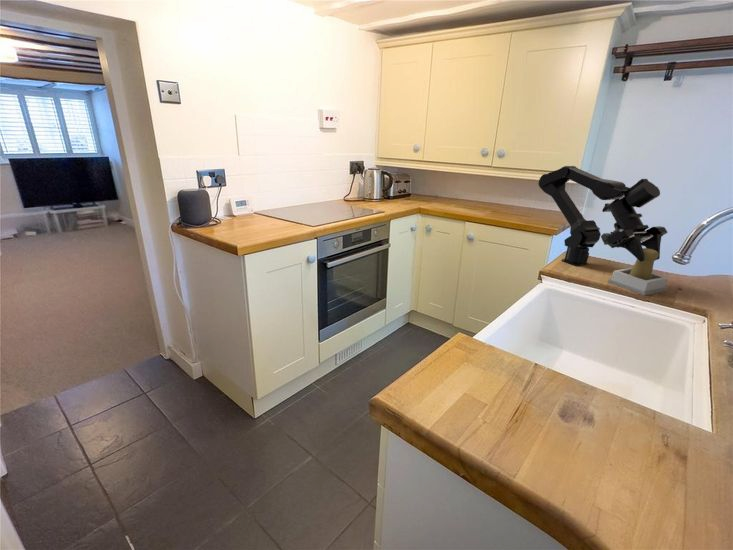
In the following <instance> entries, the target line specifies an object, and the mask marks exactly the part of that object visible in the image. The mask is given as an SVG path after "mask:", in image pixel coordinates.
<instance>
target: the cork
mask: <svg viewBox="0 0 733 550" xmlns="http://www.w3.org/2000/svg"><path fill="white" fill-rule="evenodd" d="M642 249H643V253H644V259H645V260H644V261H642V262H640V261H639V260H638V259H637V258H636V260H635V262H634V264H633V266H632V267H631V268H632V270H631V272H630V274H629V275H631V276H634V277H637V278H640V279H643V280H651V275H652V273H653V270H654V269H653V268H654V263H655V261H658V260H657V258H658V256H659V254H658V252H657V251H656V250H653V249H648V248H646V247H642Z"/></svg>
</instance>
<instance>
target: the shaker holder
mask: <svg viewBox="0 0 733 550" xmlns="http://www.w3.org/2000/svg"><path fill="white" fill-rule="evenodd" d="M632 268H633V267H628V268H622V269H616V270H613V273H612V276H611V278H608V280H607V282H608V283H609V282H610V283H609V284H612V285H614V284H615V285H614V286H617V287H620V288H622V287H623V288H622V289H625V288H626V289H625V290H629V291H630V290H631V291H630V292H634V293H637V294H639V295H641V296H649V295H653V294H657V293H658V294H659V293H662V292H667V291H668V289H669V287H667V283H668V280H669V277H666V276H663V275H661V274H658V273H654V272H652V275H651V280H643V279H640V278H637V277H634V276H631V275H629V274H630V272H631V270H632Z"/></svg>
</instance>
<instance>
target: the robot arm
mask: <svg viewBox="0 0 733 550" xmlns="http://www.w3.org/2000/svg"><path fill="white" fill-rule="evenodd" d="M569 181H572V182H574V183H577V184H578V185H580V186H582V187H585V188H587V189H589V190H591V192H592V195H594V196H596V197H597V198H598V199H600V200H602V201H611V202H610V203H608V202H607V203H604V206H603V208H602V210H601V211H602V212H603V213H607V212H610V213H611V216H612V217H613V219H614V221H615V222H614V223H613V227H614V230H613V231H610V233H609V232H604V233H603V234H601V231H600V230H601V228H600V227H598V225H597V223H596V221H595V220H594V219H593V220H587V219H585V218H584V216H583V215H582V213H581V212H580V210H579V209H578V207H577V206H576V204H575V202H574V201H573V200H572V198H571V197H570V195H569V194H568V191H566V184H567V183H568V182H569ZM538 187H539V188H540V190H541V191H542V192H543V193H545V194H546V195H548V196H550V197H551V198H552V200H553V201H554V202H555V204H556V206H557V207H558V208H559V209H558V210H560V212H561V214H562V215H563V217H564V218H565V220H566V222H568V224H569V227H570V229H569V233H570V236H568V237H567V238H565V239H564V240H563V241H564V246H565V247H567V249H566V252H565V256H564V258H562V259H561V261H562V262H564V263H566V264H567V263H568V264H570V265H571V266H572V265H573V266H576V267H577V266H579V267H580V266H586V265H589V261H588V259H589V257H590V252H589V251H590V248H594V246H595V245H596V244H597V243H598V242H599V241H600V238H601V240H602V242H603V244H604V246H605V245H608V246H609V247H610V248H611V249H614V248H623V249H625V250H627V252H629V253H630V254H632V255H633V256H634V258H636V260H637V259H638V260H639V261H640V262H642V261H644V260H645V259H644V253H643V249H642V248H643V247H644V248H648V249H653V250H656V251H657V252H658V254H659V256H658V258H657V260H656V261H658V260H660V258H661V257H660V256H661V241H662V237H663V236H664V235H666V234H668V230H667V229H666V227H665V226H661V225H660V226H652V227H649V225H648V224H644V223H643V221H642V220H641V218H643V214H642V213H637V211H636V209H635V208H643V207H644V206H645V205H647V204H648V203H650V202H651V201H653V200H655V199H656V198H658V197H660V195H661V191H660V188H659V187H658V186H656V185H655V184H654V183H652V182H650V181H649V180H648V178H641V179H640V180H638V181H637V182H636V183H635V184H634V185H632V186H630V187H629V186H626V184H625V183H624V182H622V181H617V180H612V179H604V178H602V177H599V176H597V175H594V174H592V173H590V172H588V171H585V170H582V169H581V168H578V167H577V166H575V165H564V166H562V167H560V168H559V169H556V170H554V171H551V172H549V173H544V174H542V175H541V176H540V177H539V180H538Z"/></svg>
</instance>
